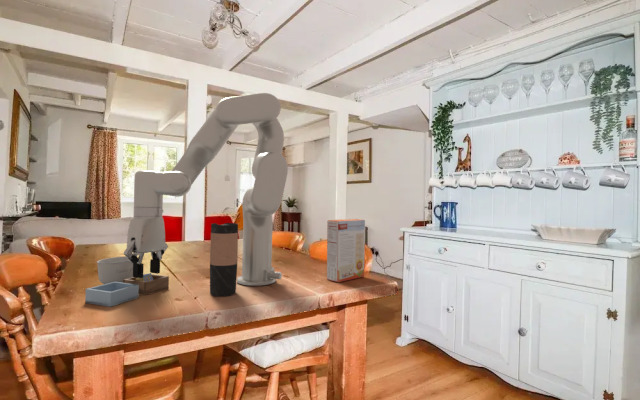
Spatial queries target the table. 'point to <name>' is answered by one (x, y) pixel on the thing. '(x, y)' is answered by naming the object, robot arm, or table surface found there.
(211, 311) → the table surface
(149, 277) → the alphabet block
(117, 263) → the grey piece
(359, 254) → the cracker box
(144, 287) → the walnut box
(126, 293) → the slate box
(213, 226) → the travel mug
